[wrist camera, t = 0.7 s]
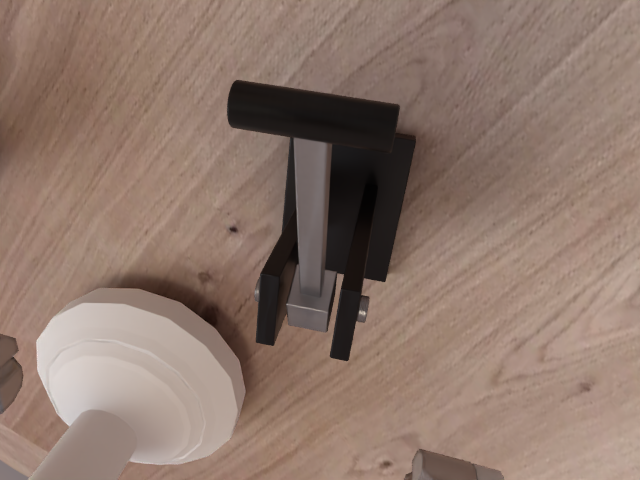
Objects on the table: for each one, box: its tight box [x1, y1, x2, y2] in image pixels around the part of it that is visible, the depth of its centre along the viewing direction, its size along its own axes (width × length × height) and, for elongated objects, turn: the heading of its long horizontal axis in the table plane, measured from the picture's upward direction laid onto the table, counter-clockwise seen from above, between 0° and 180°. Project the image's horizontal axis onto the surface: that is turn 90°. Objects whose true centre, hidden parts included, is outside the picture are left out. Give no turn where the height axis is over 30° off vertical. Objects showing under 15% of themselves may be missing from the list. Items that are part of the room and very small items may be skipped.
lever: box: [227, 80, 400, 333], centre depth 20 cm, size 15×5×2 cm, turn 173°
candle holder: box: [28, 288, 246, 480], centre depth 40 cm, size 20×20×19 cm
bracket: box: [255, 133, 416, 361], centre depth 31 cm, size 12×9×16 cm
